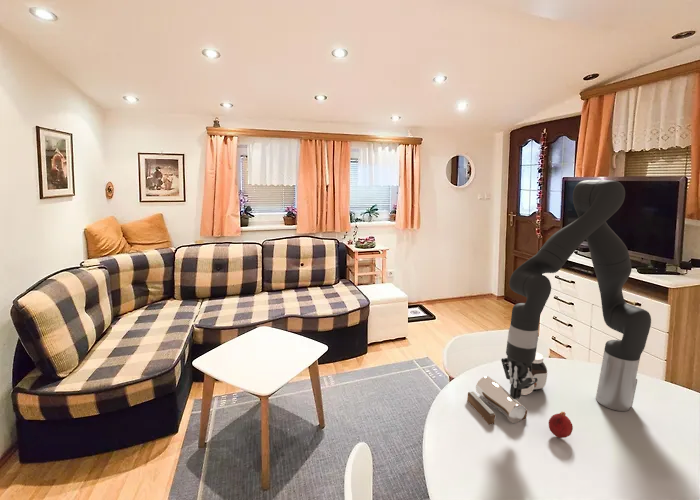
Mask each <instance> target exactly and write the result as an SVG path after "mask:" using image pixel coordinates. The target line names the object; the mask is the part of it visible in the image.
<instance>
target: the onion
mask: <svg viewBox="0 0 700 500" xmlns="http://www.w3.org/2000/svg"><path fill="white" fill-rule="evenodd" d="M566 414H567V413H566V412H565V411H561V412H559V413H555V414H553V415H552V416H550V418H549V420H548V428H549V431H550V432H551V434H553V436H555V437H556V438H558V439H564V438H568V437H569V436H571V435H572V432H573V431H574V430H573V429H574V426H573V423H572V422H571V419H570V418H569V417H568V416H566Z"/></svg>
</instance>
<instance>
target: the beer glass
mask: <svg viewBox="0 0 700 500" xmlns="http://www.w3.org/2000/svg"><path fill="white" fill-rule="evenodd" d="M475 391H476V393H477V394H478V395H479V396H480V398H481V399H483V401H485V402H486V403H487V404H489V405H490V406H491V407H493V408H495V409H496V410H498V412H501V413H502V414H503V415H504V416H505V417H506V418H507V420H508V421H509V422H510V423H512V424H517V423H520V421H523V420H522V418H523V417H524V415H525V408H526V407H525V406H524V405H523V404H521V402H519V401H518V402H519V403H518V402H516V401H515V400H514V399H513V398H512V397H511V396H510V395H509V394H510V393H509V392H508V391H507V389H505V388H504V387H503V385H501V384H500V383H498V382H497V381H496V380H494V379H493V378H492V377H490V376H489V375H488V376H482V377H481V378H480V379H479V380H478V381H477V382H476V385H475ZM508 393H509V394H508Z"/></svg>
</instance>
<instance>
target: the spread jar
mask: <svg viewBox="0 0 700 500" xmlns="http://www.w3.org/2000/svg"><path fill="white" fill-rule="evenodd" d="M531 365H532V372H531V373H532V375H533V377H536V378H537V380H538V381H537V382H536V383H534V384H533V385H532V386H530V387H529V388H527V389H522V390H521V396H526V395H529V394H531V393H532V392H538V391H541V390H542V389H544V388H545V386H546V384H547V379H548V368H547V365H546V363H545V362H544V355H543V354H541V353H540V352H538V351H536V356H535V360H534V361H533V362H532V364H531Z"/></svg>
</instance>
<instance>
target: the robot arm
mask: <svg viewBox="0 0 700 500" xmlns="http://www.w3.org/2000/svg"><path fill="white" fill-rule="evenodd" d="M625 197H626V190H625V187H624V185H623V184H622V183H621V182H620V181H618V180H614V179H613V180H612V179H611V180H609V179H586V180H581V181H579V182H578V183H577V184H576V185H575V187H574V188H573V191H572V202H573V207H574V209H575V213H576V214H577V219H575V220H574V221H572V222H571V223H569V224H567V225H566V226H564V227H562V228H560V229H559V230H557V231H555V232H554V233H553V234H552V235H551V236H550V237H549V238H548V239H547V240H546V241H545V242H544V243H543V244H542V246H541V248H540V249H539V250H538V251H537V253H536V254H534V255H533V256H532V257H530V258H529V259H527V260H526V261H525V262H523V263H522V264H521V265H519V266H518V267H517V268H516V269H515V270H514V271H513V272H512V273H511V276H510V279H509V282H508V283H509V289H511V291H513V292H514V293H516V294H517V295H520V296H522V297H525V298H526V301H525V302H520V303H516V304H514V305H513V307H512V310H511V316H510V317H511V319H510V324H509V328H508V332H507V341H506V342H507V343H506V350H505V355H506V357H503V358H501V359H500V361H501V364H502V368H503V370H504V374H505V375H504V376H505V378H506V380H508V381H509V384H510V388H509V389H510V390H509V394H510V396H511V397H512V398H513V399H516V400H518V399H520V398H521V396H522V395H521V390H522V389H527V388H529V387H530V386H532V385H533V384H534V383H536V382H537V381H538V380H537V378H536V377H533V375H532V373H531V372H532V365H531V364H532V362H533V361H534V360H535V356H536V352H537V347H538V340H539V325H540V319H541V314H542V312H543V310H544V308H545V305H546V304H547V301H548V300H549V298H550V295H551V292H552V283H551V281H550V279H549V277H548V276H546V275H544V274H556V273H558V272H559V271H560V270H561V269H562V267H563V266H564V265H565V263H566V262H567V261H568V260H569V259H570V257H571V256H572V255H573V253H575V251H576V250H577V249H578V248H579V247H580V246H581V245H582V244H583V242H585V240H586V243H587V246H588V249H589V253H590V257H591V258H590V259H591V263H592V266H593V270H594V273H595V276H596V279H597V284H598V290H599V293H600V300H601V310H602V316H603V317H602V318H603V321H604V323H605V325H606V326H607V327H608V328H610V329H612V330H613V331H616V332H618V333H621V334H622V337H621V339H610V340H607V341H606V342H605V346H604V349H603V356H602V362H601V366H600V373H599V378H598V384H597V387H596V388H597V389H596V393H595V394H596V395H595V401H597V402H598V403H599V404H600V405H601V406H602V407H605V408H606V409H610V410H613V411H617V412H628V411H629V410H630V408H632V407H633V404H634V401H635V400H634V399H635V395H636V394H635V393H636V391H637V390H636V389H637V385H638V379H637V376H638V375H637V374H638V370H639V369H638V368H639V365H640V360H641V355H642V353H643V351H644V350H645V348H646V344H647V340H648V336H649V333H650V330H651V326H652V325H651V324H652V317H651V314H650V313H649V311H648V310H646V309H644V308H641V307H639V306H635V305H633V304H630V303H627V302H626V300H625V298H624V295H623V287H624V285H626V284H625V283H626V282H627V281H628V279H629V278H630V275H631V273H632V261H631V257H630V252H629V250H628V247H627V246H626V244H625V242H624V241H623V240H622V239H621V238H620V237H619V236H618V234H616V233H615V231H614V230H613V229H612V228H611V227H610V225H608V223H607V221H608V220H609V219H610V218H611V217H612V216H614V214H616V213H617V212H618V211H619V209H620V208H621V207H622V205H623V204H624V201H625V199H626V198H625Z"/></svg>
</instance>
